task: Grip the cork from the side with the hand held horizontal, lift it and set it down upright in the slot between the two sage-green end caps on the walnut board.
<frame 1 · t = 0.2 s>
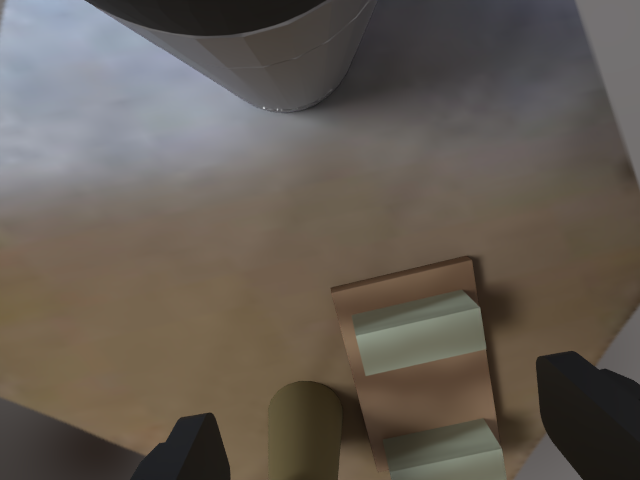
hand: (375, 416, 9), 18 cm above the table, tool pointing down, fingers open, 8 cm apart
cork: (305, 412, 30), on the table
endcap cradle: (419, 377, 29), on the table
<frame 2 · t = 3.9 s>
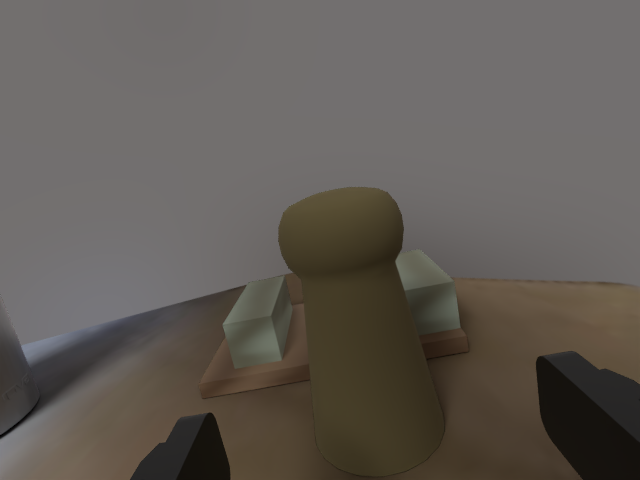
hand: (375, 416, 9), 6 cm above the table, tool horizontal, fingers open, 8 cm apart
cork: (378, 426, 17), on the table
endcap cradle: (345, 333, 27), on the table
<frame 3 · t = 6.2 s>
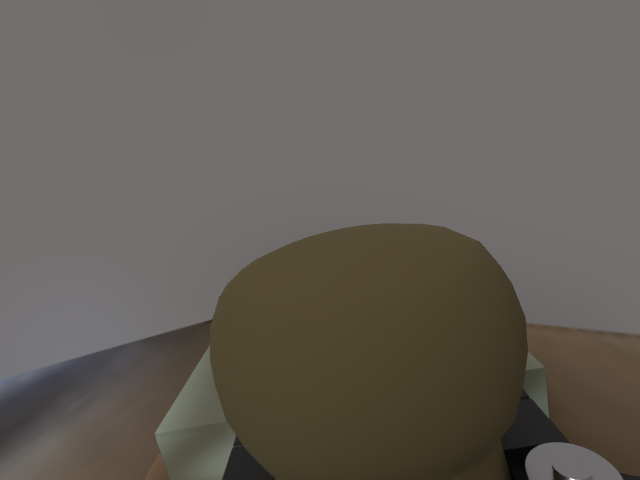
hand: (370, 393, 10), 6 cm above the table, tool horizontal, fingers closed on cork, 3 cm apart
endcap cradle: (355, 420, 18), on the table
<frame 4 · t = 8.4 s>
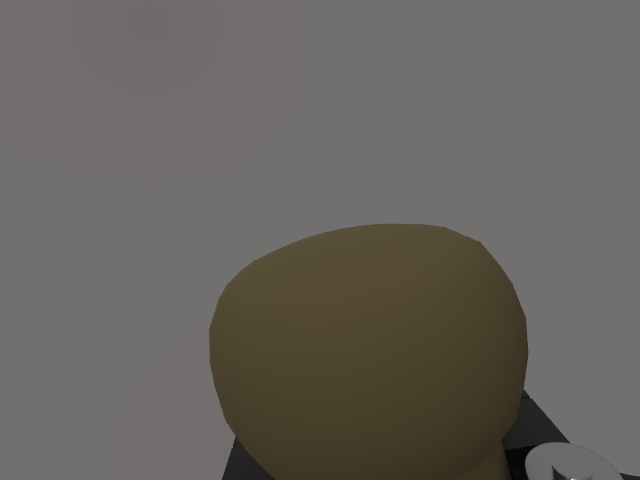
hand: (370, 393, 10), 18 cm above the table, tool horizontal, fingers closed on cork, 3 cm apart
when the fingers open (8 cm above the table, at t = 10.6 s): cork moves 1 cm, resting on endcap cradle.
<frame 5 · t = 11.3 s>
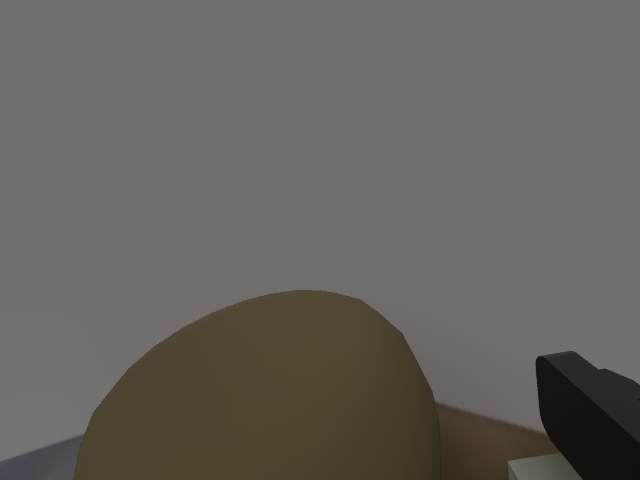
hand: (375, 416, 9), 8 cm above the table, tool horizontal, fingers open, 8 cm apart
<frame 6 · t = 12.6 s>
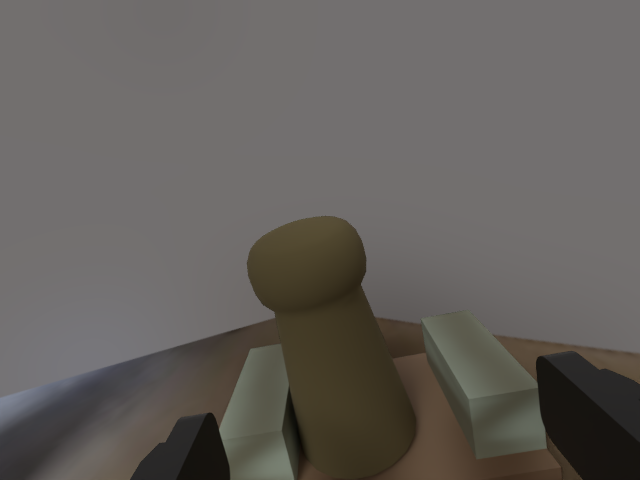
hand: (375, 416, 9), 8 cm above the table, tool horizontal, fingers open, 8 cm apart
cork: (357, 427, 19), point 1 cm above the table, touching endcap cradle
endcap cradle: (376, 428, 20), on the table
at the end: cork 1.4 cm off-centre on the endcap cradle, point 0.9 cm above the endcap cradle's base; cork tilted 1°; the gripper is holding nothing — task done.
